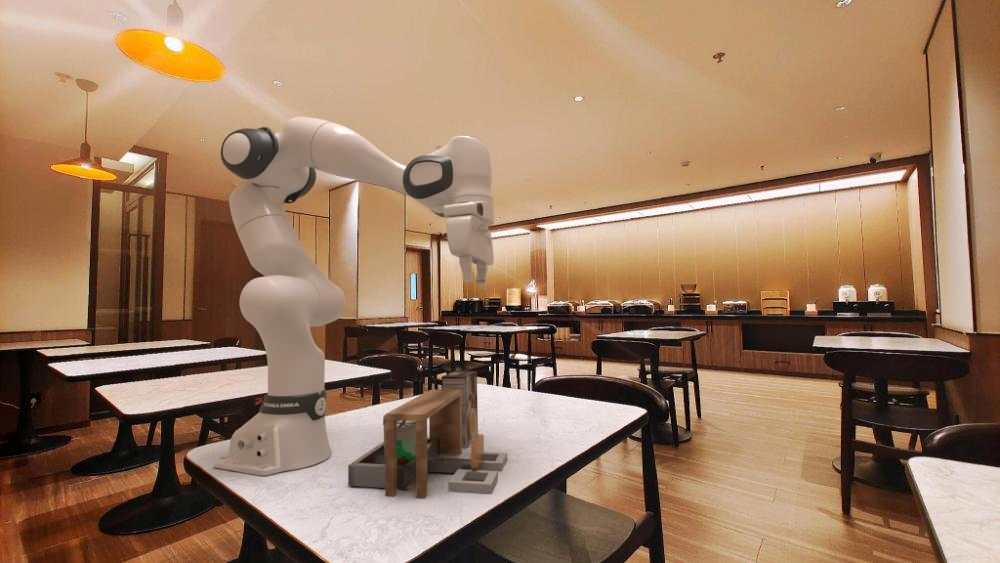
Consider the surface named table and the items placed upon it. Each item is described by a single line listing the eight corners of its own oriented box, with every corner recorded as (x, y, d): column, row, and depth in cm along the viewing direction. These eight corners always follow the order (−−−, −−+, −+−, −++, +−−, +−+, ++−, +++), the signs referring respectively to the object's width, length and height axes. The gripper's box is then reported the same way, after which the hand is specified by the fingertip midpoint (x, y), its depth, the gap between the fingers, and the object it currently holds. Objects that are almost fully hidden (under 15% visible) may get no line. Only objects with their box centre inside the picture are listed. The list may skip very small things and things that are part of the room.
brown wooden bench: (385, 495, 69) (385, 413, 70) (431, 451, 91) (431, 389, 92) (424, 498, 68) (424, 414, 69) (462, 453, 90) (461, 390, 91)
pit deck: (448, 491, 70) (448, 482, 71) (471, 458, 86) (471, 451, 86) (491, 493, 69) (491, 484, 69) (507, 460, 85) (506, 452, 85)
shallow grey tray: (348, 485, 73) (348, 449, 74) (391, 452, 90) (391, 423, 91) (468, 492, 69) (467, 454, 70) (490, 456, 86) (489, 426, 87)
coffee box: (453, 435, 103) (453, 370, 104) (478, 436, 102) (477, 370, 103) (441, 447, 94) (440, 376, 95) (468, 448, 93) (467, 376, 94)
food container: (430, 480, 75) (429, 424, 76) (396, 487, 73) (396, 429, 74) (412, 459, 86) (412, 411, 87) (382, 465, 84) (382, 414, 84)
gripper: (471, 227, 95) (474, 287, 93) (439, 204, 75) (442, 280, 73) (498, 224, 93) (501, 285, 92) (473, 200, 73) (476, 278, 72)
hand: (475, 283), depth 83 cm, fingers open, 8 cm apart
